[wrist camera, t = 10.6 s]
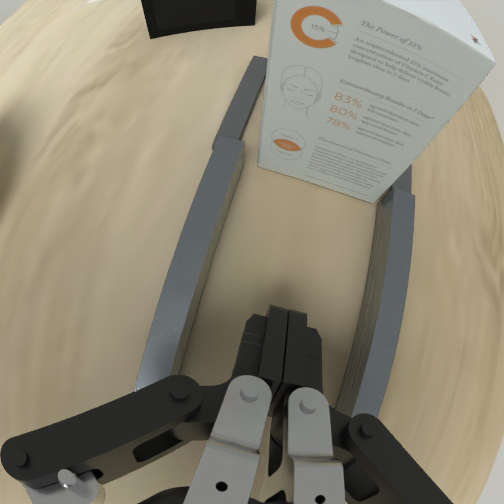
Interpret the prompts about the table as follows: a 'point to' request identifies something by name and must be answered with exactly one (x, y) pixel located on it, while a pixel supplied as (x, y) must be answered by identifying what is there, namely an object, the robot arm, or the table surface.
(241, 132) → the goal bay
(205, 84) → the table surface
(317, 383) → the robot arm
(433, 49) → the small box
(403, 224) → the grey u-shaped frame
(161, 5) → the digital camera
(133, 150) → the table surface
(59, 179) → the table surface
